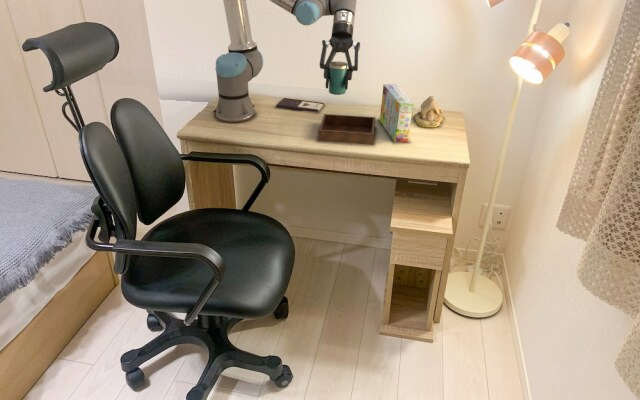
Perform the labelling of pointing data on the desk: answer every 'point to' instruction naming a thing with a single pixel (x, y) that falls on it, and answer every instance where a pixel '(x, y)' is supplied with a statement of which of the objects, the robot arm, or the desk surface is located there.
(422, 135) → the desk surface
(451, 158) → the desk surface
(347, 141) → the dark wooden tray
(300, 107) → the chocolate bar
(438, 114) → the ceramic model
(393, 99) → the snack box
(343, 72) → the tin
